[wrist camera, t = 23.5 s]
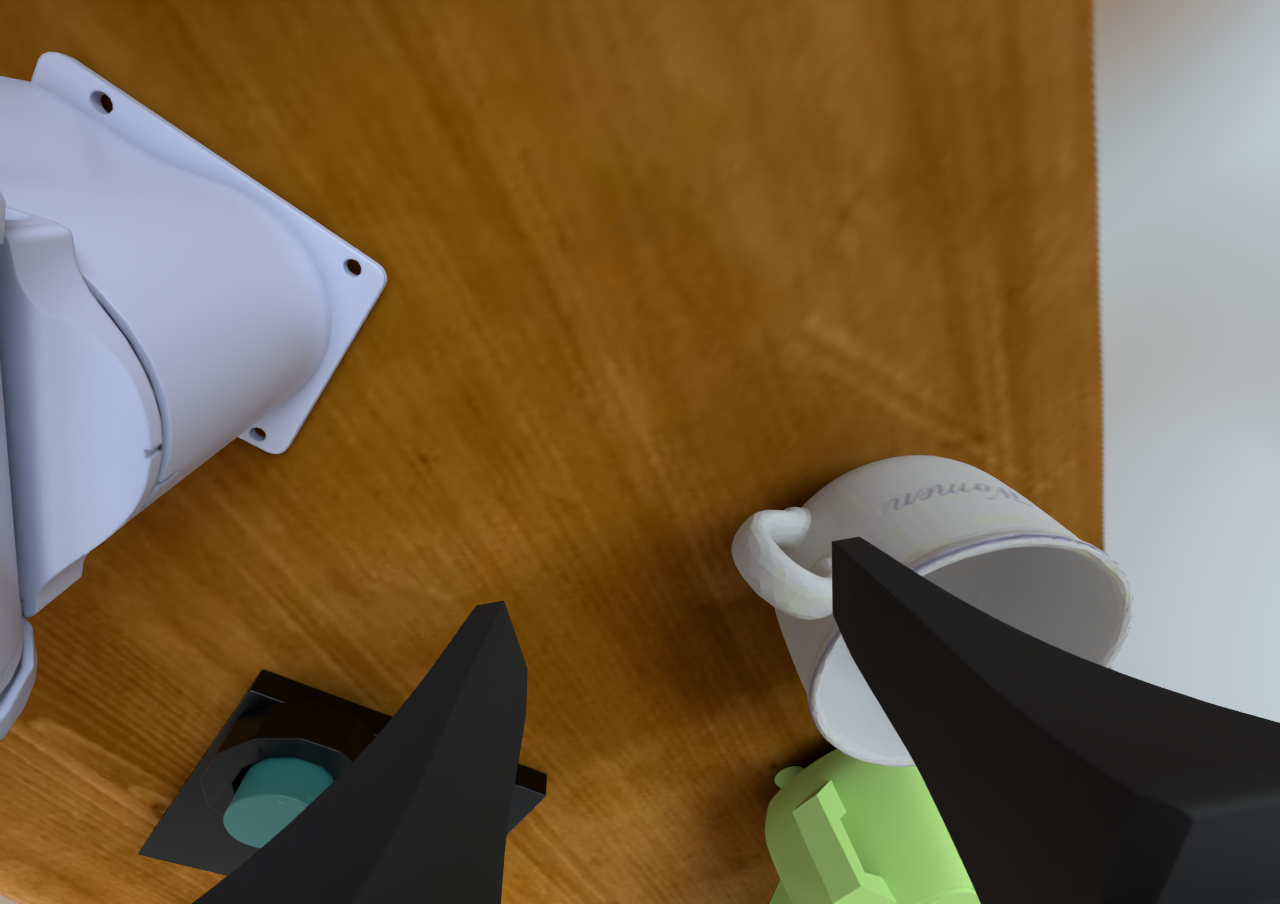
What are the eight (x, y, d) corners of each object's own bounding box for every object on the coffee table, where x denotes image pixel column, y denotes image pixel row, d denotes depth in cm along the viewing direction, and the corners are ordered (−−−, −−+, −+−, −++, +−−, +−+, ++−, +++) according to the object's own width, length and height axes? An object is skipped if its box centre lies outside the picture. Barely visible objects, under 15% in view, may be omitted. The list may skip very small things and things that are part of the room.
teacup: (1019, 511, 26) (1193, 638, 19) (847, 658, 29) (941, 816, 21) (824, 327, 21) (960, 404, 14) (641, 527, 24) (672, 677, 16)
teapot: (739, 840, 35) (798, 1062, 26) (760, 713, 30) (841, 936, 21) (915, 819, 36) (1027, 1023, 27) (964, 694, 31) (1120, 896, 22)
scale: (153, 829, 28) (110, 897, 25) (270, 657, 24) (233, 716, 22) (424, 898, 33) (412, 960, 31) (555, 765, 30) (554, 824, 27)
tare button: (231, 793, 24) (207, 836, 22) (266, 744, 23) (244, 785, 21) (313, 817, 25) (296, 858, 24) (350, 771, 24) (335, 811, 23)
